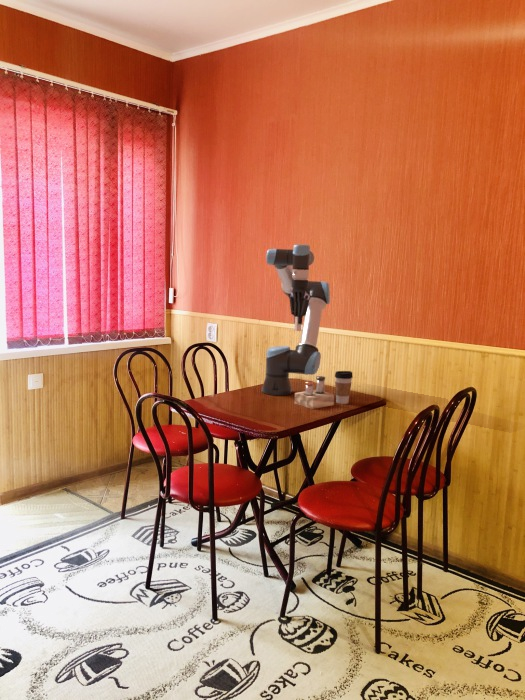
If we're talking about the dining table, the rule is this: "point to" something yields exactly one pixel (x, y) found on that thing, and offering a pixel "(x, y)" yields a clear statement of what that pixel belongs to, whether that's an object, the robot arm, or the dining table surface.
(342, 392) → the coffee cup
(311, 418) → the dining table surface
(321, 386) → the grey capped glass jar
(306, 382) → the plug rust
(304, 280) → the robot arm
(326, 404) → the beech block
